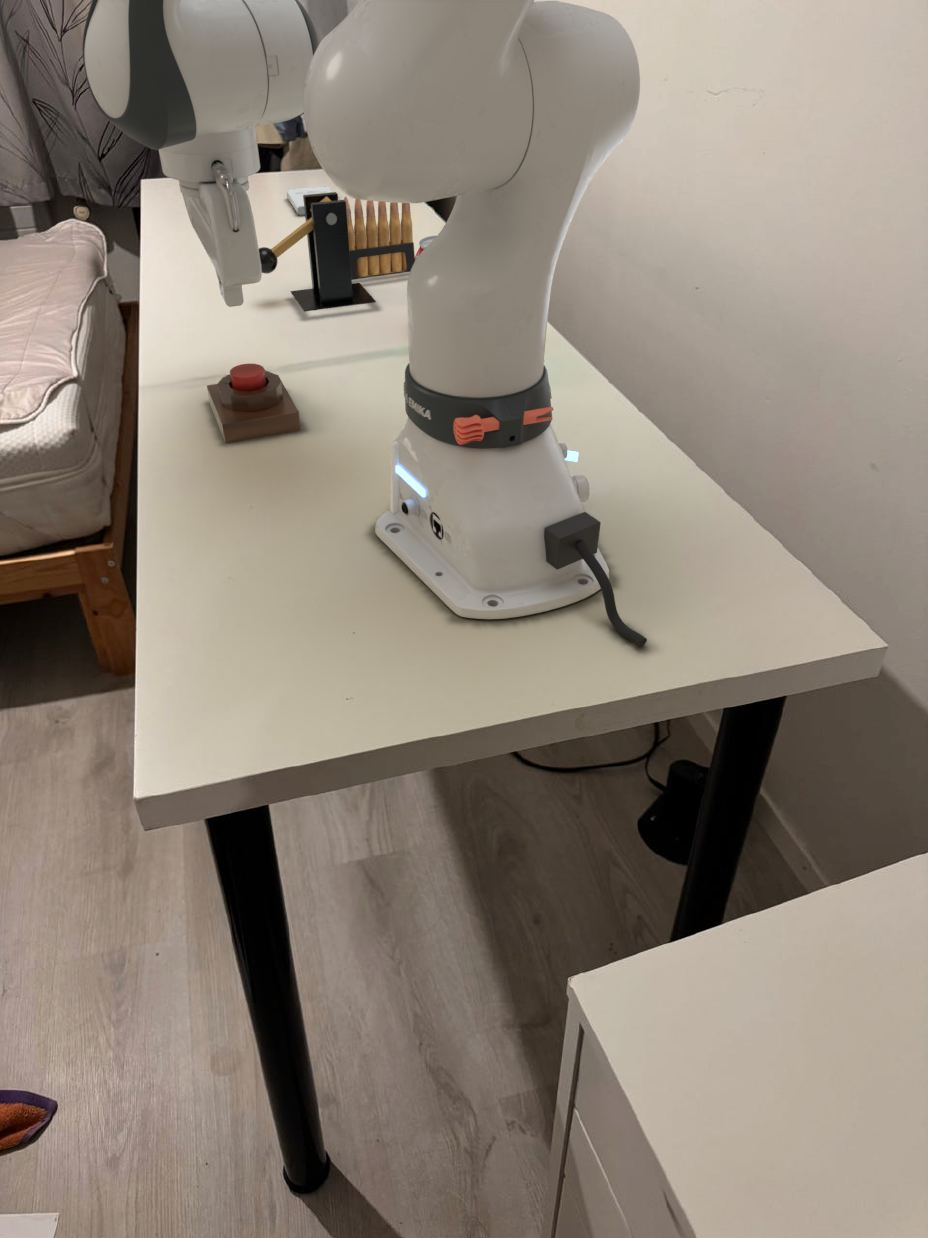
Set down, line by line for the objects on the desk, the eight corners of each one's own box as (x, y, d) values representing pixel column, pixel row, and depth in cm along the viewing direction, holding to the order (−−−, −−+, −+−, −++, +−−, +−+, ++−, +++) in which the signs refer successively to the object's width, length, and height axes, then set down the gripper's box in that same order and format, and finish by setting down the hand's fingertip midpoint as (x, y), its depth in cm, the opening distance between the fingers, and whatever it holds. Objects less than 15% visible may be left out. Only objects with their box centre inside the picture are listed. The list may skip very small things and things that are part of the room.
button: (269, 390, 95) (267, 374, 94) (235, 395, 94) (233, 379, 93) (262, 376, 97) (260, 361, 96) (229, 381, 96) (226, 366, 95)
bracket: (305, 319, 120) (293, 209, 111) (291, 299, 126) (279, 193, 117) (376, 309, 123) (370, 202, 114) (360, 290, 129) (353, 187, 120)
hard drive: (298, 216, 158) (287, 197, 167) (343, 212, 160) (330, 194, 169) (297, 206, 157) (285, 188, 166) (343, 202, 158) (329, 185, 168)
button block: (301, 430, 95) (296, 395, 93) (225, 443, 93) (219, 408, 91) (280, 392, 103) (276, 359, 100) (209, 403, 100) (203, 369, 98)
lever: (265, 281, 117) (250, 261, 115) (260, 273, 120) (245, 254, 118) (344, 220, 117) (330, 198, 114) (337, 213, 119) (323, 192, 117)
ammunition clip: (347, 287, 130) (341, 198, 122) (343, 283, 131) (336, 195, 123) (416, 277, 133) (414, 190, 125) (411, 274, 134) (409, 187, 127)
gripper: (267, 174, 75) (286, 334, 84) (224, 126, 90) (244, 266, 99) (190, 180, 73) (218, 343, 82) (160, 130, 88) (186, 273, 97)
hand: (232, 301), depth 91 cm, fingers closed
